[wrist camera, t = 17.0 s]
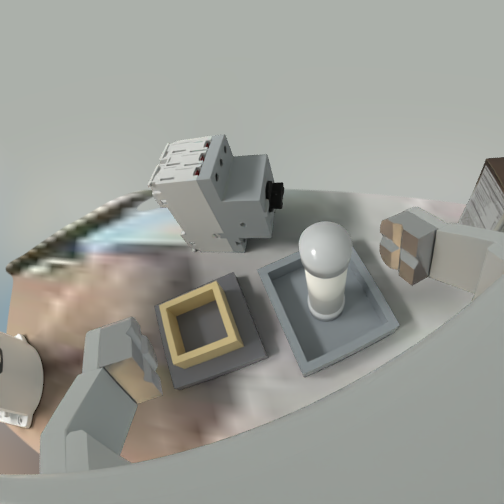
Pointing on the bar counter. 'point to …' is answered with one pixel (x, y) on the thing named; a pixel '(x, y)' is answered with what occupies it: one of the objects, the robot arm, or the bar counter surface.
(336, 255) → the cylinder
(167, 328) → the block
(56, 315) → the bar counter surface
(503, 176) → the coffee box
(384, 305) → the parts tray
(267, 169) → the circuit breaker
